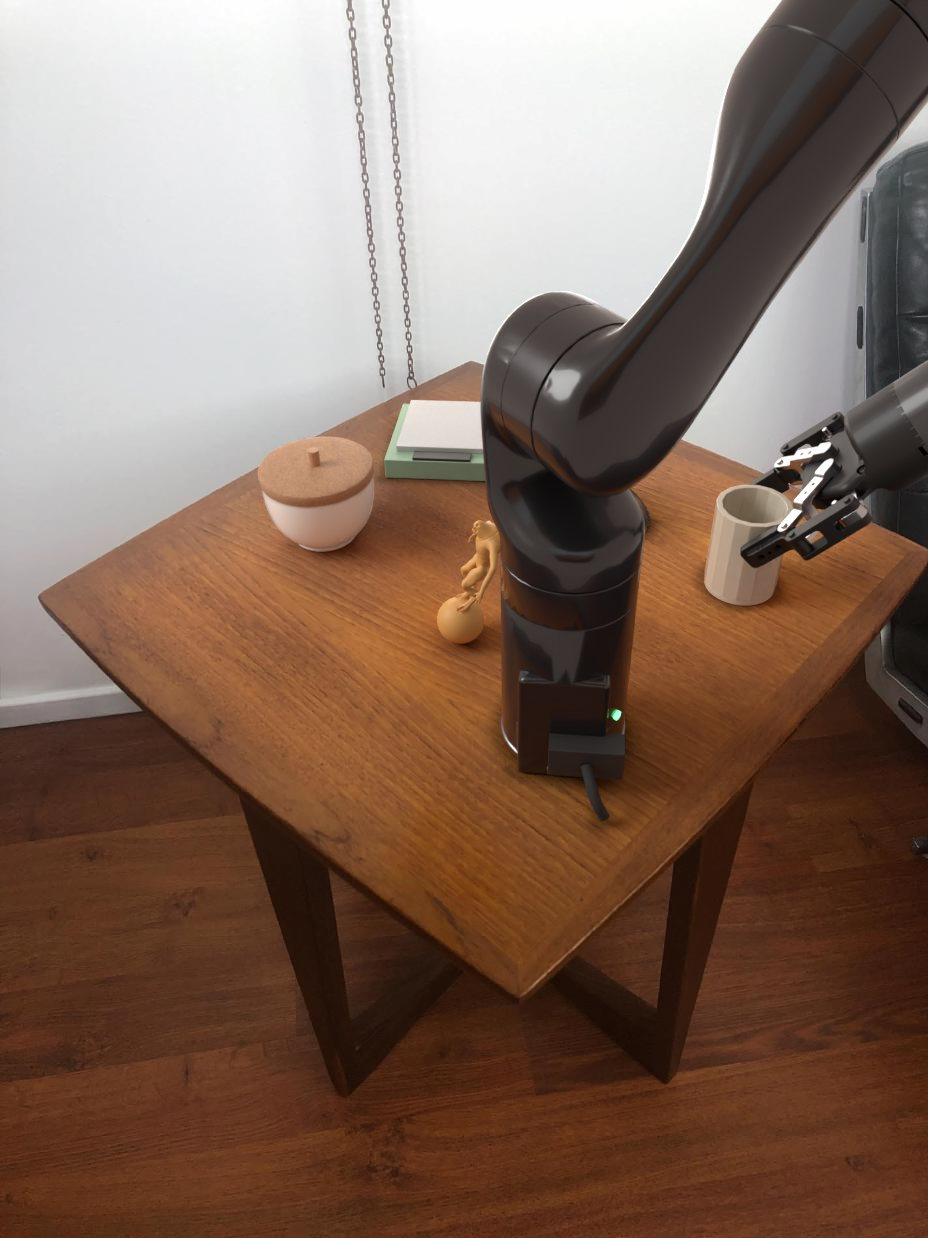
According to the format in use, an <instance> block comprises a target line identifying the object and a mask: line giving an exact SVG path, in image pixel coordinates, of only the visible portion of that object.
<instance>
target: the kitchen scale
mask: <svg viewBox="0 0 928 1238" xmlns="http://www.w3.org/2000/svg"><path fill="white" fill-rule="evenodd" d="M383 462H384V463H383V465H384V473H385V478H386V479H387V478H389V479H390V478H391V479H411V480H412V479H414V480H440V481H441V480H443V481H444V480H445V481H466V482H467V481H470V482H485V471H484V458H483V445H482V431H481V413H480V401H469V400H468V401H465V400H463V401H462V400H429V399H428V400H427V399H411V400H410V402H409V403H403V404H402V406H401V409H400V412H399V415H398V418H397V420H396V425H395V427H394V429H393V432H392V436H391V439H390V441H389V444H388V447H387V450H386V453H385V456H384V459H383Z"/></svg>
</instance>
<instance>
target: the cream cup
mask: <svg viewBox="0 0 928 1238" xmlns="http://www.w3.org/2000/svg"><path fill="white" fill-rule="evenodd" d="M792 510H793V502H792V501H791V500H790V499H789V498H788V497H787V495H785V494H784V493H780V492H778V491H776V490H774V489H772V488H768V487H764V486H760V485H748V484H739V485H734V486H730V487H728V488H727V489H725V490H723V491H721V492H720V493H719V494H718V497H717V498H716V501H715V507H714V512H713V519H712V525H711V531H710V535H709V536H710V537H709V541H708V549H707V553H706V555H707V556H706V561H705V566H704V571H703V572H704V577H703V583H704V587H705V588H706V590H707V591H708V593H709V594H711V595H712V596H713V597H714V598H715V599H718V600H720V601H722V602H723V603H727V604H730V605H735V606H741V607H742V606H743V607H745V606H746V607H747V606H748V607H749V606H755V605H760V604H762V603H764V602H766V601H768V600H769V599H771V597H772V596H773V595H774V593H775V591H776V587H777V585H778V582H779V581H778V580H779V576H780V571H781V568H782V563H783V560H784V555H785V553H784V554H782V555H781V556H779V557H777V558H775V559H773V560H772V561H770V562H768V563H767V564H765V565H763V566H760V567H759V568H753V567H751V566H750V565H749V564H748V563H747V562H746V561H745V560H744V559H743V558H742V557H741V555H740V548H741V546H742V545H744V544H746V543H747V542H749V541H751V540H752V539H754V538H756V537H758V536H759V535H761V534H763V533H764V532H766V531H768V530H769V529H771V528H773V527H774V526H776V525H777V526H779V525H780V524H781V523H782V522H783V520H784V519H785V518H786V517H787V516H788V515H789V514H790V512H791V511H792Z"/></svg>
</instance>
